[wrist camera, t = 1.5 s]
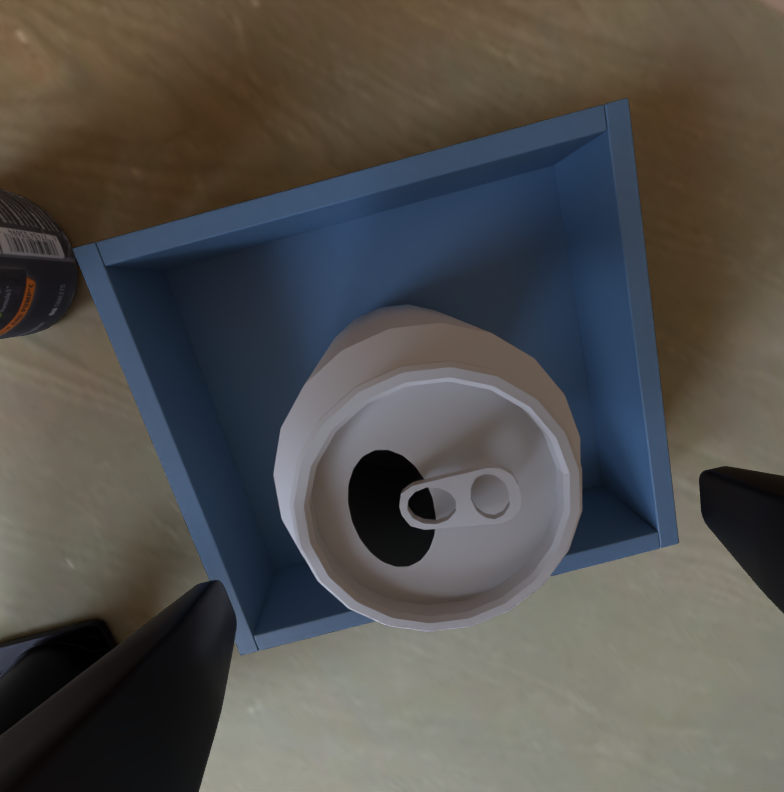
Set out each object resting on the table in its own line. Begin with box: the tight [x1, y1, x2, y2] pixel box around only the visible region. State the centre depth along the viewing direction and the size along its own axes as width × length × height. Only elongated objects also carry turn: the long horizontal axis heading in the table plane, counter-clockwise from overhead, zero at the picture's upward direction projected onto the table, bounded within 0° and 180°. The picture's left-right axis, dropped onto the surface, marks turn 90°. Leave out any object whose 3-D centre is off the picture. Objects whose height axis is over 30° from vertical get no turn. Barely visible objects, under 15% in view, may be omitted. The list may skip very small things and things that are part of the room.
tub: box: [73, 98, 679, 655], centre depth 19 cm, size 19×17×5 cm
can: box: [273, 304, 582, 632], centre depth 15 cm, size 8×8×12 cm
